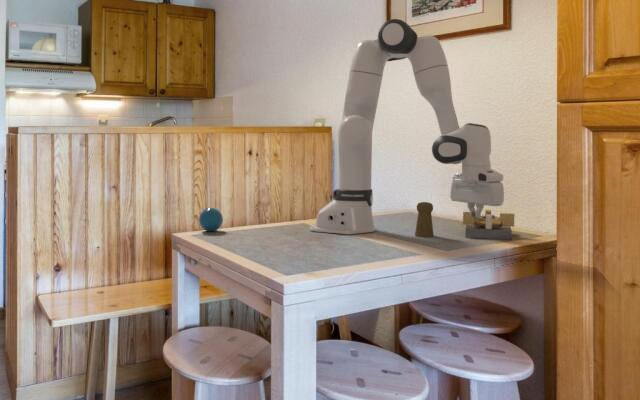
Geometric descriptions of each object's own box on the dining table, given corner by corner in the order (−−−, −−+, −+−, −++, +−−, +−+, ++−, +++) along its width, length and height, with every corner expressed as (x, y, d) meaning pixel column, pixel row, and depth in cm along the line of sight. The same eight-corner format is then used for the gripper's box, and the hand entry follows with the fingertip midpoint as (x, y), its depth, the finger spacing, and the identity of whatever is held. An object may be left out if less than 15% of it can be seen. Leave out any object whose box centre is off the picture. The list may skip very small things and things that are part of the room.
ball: (216, 234, 189) (215, 209, 189) (194, 232, 192) (194, 208, 191) (227, 230, 197) (227, 207, 196) (206, 228, 199) (206, 206, 199)
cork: (433, 237, 184) (434, 203, 183) (414, 237, 185) (415, 203, 184) (433, 234, 190) (434, 201, 189) (415, 233, 191) (415, 201, 190)
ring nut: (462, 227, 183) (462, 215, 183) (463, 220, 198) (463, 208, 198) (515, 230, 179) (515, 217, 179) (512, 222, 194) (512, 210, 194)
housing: (465, 237, 185) (465, 228, 184) (466, 231, 197) (466, 222, 197) (511, 239, 181) (511, 230, 181) (509, 233, 194) (509, 223, 193)
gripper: (446, 173, 191) (445, 214, 193) (492, 176, 173) (491, 222, 175) (460, 172, 194) (459, 213, 196) (507, 175, 177) (506, 220, 178)
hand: (475, 217), depth 185 cm, fingers closed
